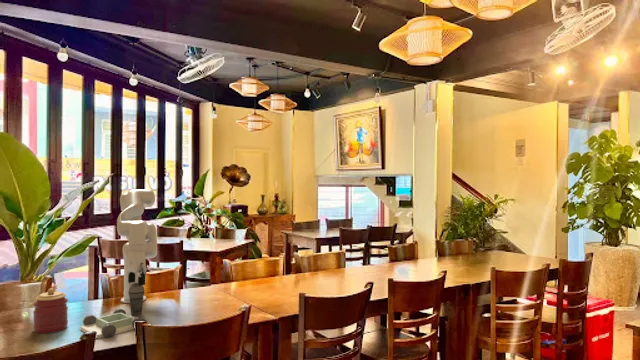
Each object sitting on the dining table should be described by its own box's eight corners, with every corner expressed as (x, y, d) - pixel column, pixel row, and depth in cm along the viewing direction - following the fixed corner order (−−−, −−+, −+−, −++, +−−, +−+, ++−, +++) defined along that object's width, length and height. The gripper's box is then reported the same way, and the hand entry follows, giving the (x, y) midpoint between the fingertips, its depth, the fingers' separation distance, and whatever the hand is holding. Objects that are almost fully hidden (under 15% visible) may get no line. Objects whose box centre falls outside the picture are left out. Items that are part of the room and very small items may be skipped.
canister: (74, 325, 198) (75, 285, 198) (51, 335, 185) (51, 293, 185) (50, 323, 201) (50, 284, 201) (25, 332, 188) (25, 291, 188)
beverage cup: (131, 313, 216) (131, 272, 216) (146, 313, 217) (146, 272, 217) (125, 318, 209) (126, 275, 209) (141, 317, 209) (142, 275, 209)
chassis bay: (78, 328, 193) (78, 317, 193) (127, 317, 210) (127, 306, 210) (98, 340, 180) (98, 328, 180) (149, 327, 196) (150, 315, 196)
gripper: (120, 247, 215) (120, 282, 215) (138, 250, 204) (137, 287, 204) (135, 245, 221) (135, 280, 221) (153, 248, 210) (153, 285, 209)
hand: (136, 283), depth 212 cm, fingers open, 9 cm apart
